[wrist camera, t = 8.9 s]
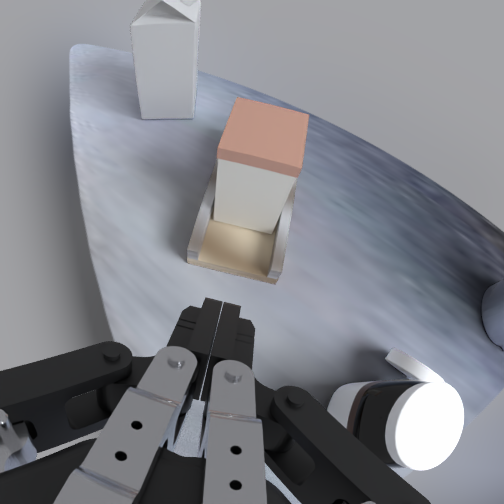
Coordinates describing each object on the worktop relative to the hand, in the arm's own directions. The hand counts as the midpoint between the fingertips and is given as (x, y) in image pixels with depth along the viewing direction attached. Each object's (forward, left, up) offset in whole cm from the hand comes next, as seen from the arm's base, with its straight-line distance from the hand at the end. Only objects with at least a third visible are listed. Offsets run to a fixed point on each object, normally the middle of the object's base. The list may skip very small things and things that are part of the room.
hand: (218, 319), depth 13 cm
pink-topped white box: (+11, -11, -15) cm, 22 cm away
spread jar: (-14, -10, -17) cm, 24 cm away
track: (+11, -12, -17) cm, 24 cm away
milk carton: (+31, -12, -17) cm, 38 cm away
